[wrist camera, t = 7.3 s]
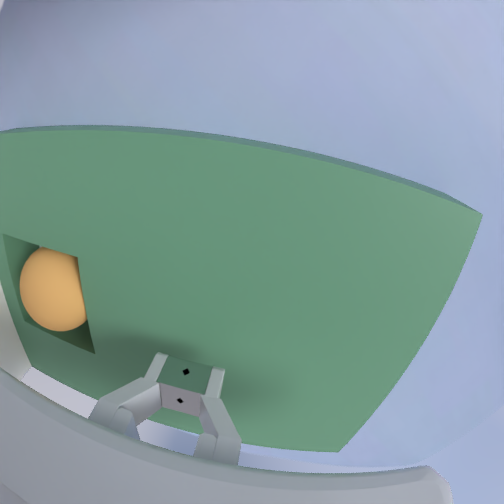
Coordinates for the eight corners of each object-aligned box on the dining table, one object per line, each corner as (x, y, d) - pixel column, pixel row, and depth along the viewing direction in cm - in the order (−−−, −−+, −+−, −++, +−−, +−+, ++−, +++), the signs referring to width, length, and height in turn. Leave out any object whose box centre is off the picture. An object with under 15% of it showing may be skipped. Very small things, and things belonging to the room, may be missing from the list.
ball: (-4, 255, 10) (68, 210, 13) (18, 293, 14) (73, 255, 17) (39, 335, 10) (116, 277, 13) (57, 356, 13) (114, 311, 17)
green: (14, 128, 13) (-61, 147, 7) (444, 193, 12) (527, 243, 6) (44, 338, 20) (6, 384, 14) (335, 416, 19) (340, 486, 14)
